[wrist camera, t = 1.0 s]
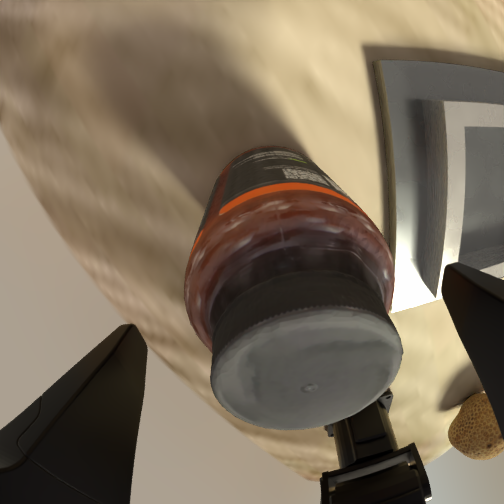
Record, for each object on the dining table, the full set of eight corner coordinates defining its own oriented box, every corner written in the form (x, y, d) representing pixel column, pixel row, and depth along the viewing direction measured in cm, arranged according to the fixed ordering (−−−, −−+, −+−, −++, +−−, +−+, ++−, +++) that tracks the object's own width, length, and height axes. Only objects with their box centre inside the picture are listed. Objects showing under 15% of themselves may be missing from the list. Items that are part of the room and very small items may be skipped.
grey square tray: (526, 259, 17) (546, 277, 15) (386, 303, 19) (402, 332, 16) (537, 82, 10) (565, 87, 8) (372, 62, 12) (399, 55, 9)
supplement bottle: (240, 265, 17) (231, 460, 7) (194, 170, 15) (89, 324, 5) (340, 229, 16) (434, 404, 6) (306, 126, 13) (445, 200, 4)
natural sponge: (506, 375, 26) (535, 427, 17) (466, 415, 30) (487, 466, 21) (477, 374, 24) (510, 439, 16) (430, 419, 28) (453, 480, 20)
